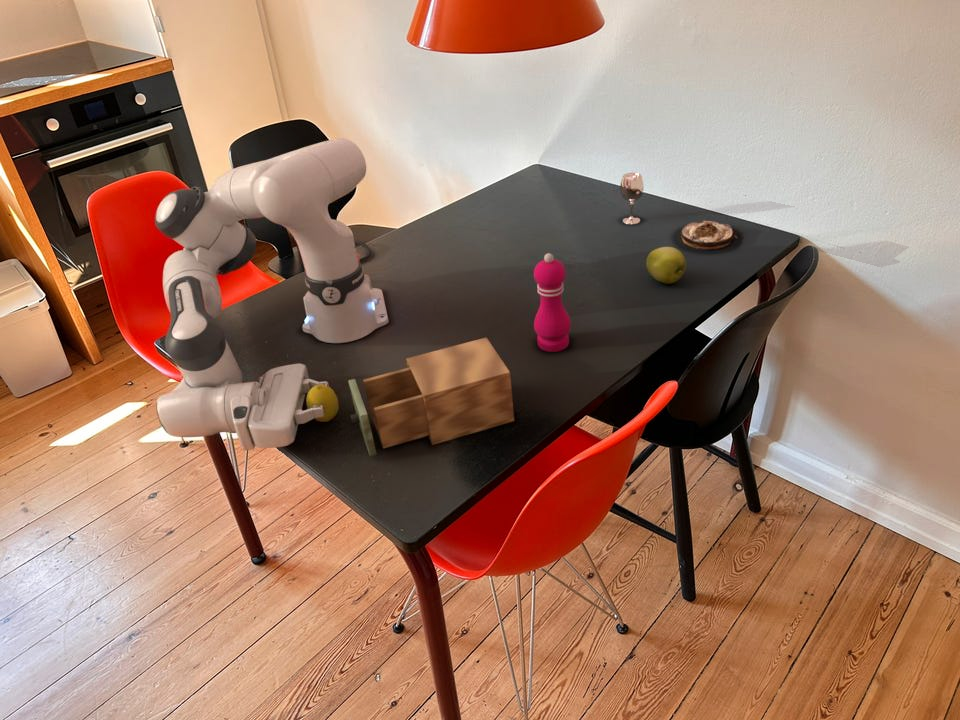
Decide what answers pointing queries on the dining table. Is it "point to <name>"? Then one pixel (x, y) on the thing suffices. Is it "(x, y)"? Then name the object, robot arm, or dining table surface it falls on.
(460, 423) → the cabinet
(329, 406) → the lemon
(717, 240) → the mottled flat disc
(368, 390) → the drawer
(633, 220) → the wineglass
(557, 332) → the pepper mill
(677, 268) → the apple
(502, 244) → the dining table surface
